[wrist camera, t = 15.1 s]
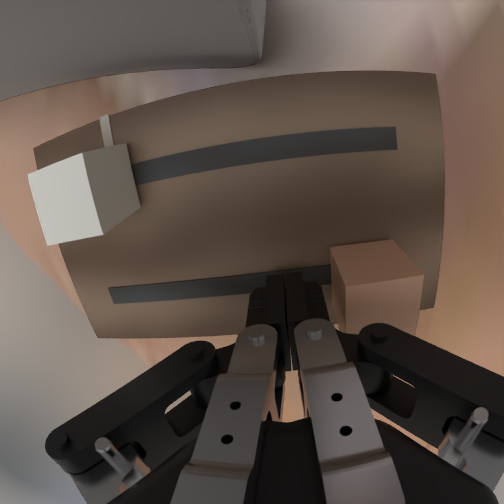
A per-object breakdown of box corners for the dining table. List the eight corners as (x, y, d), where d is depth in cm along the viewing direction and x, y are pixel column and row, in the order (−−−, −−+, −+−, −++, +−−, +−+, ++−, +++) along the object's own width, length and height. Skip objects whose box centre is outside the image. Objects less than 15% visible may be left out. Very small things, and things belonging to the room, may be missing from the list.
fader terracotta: (329, 246, 13) (345, 286, 10) (392, 239, 13) (423, 275, 10) (332, 303, 14) (345, 351, 11) (390, 295, 14) (414, 339, 11)
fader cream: (74, 160, 12) (27, 174, 9) (126, 143, 12) (82, 152, 9) (89, 218, 13) (47, 245, 10) (140, 207, 13) (103, 234, 10)
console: (73, 138, 16) (31, 146, 12) (402, 80, 14) (436, 71, 10) (122, 305, 21) (97, 340, 17) (409, 275, 18) (434, 309, 14)
